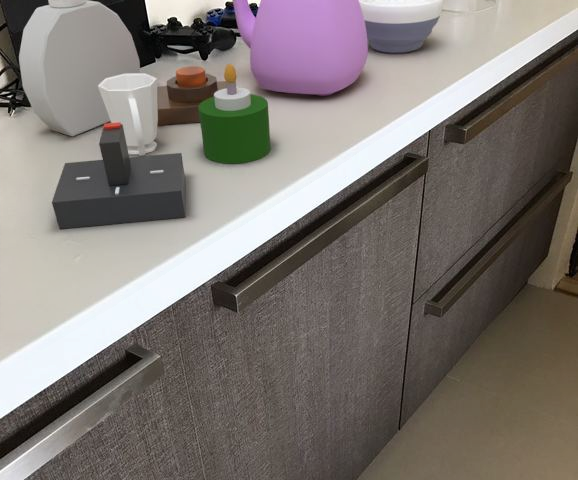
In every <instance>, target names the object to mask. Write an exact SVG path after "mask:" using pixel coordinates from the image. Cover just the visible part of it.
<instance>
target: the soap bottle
mask: <svg viewBox="0 0 578 480" xmlns="http://www.w3.org/2000/svg"><path fill="white" fill-rule="evenodd" d="M47 1H48V2H47V3H48V4H47V5H43V6H38V7H36V9H35V10H34V11H33V13H32V14H31V16H30V18H29V20H28V21H27V23H26V24H25V26H24V27H23V31H22V37H21V43H20V49H19V54H18V62H19V69H20V76H21V77H20V78H21V83H22V89H23V91H24V93H25V96H26V98H27V100H28V102H29V104H30V106H31V108H32V111H33V113H34V114H35V115H36V116H37V117H38V118H39V120H41V121H42V123H44V124H45V126H46V127H47V128H48V129H49V130H50V131H54V132H57V133H60V134H64V135H66V136H70V137H75V136H78V135H81V134H83V133H86V132H88V131H90V130H93V129H95V128H98V127H100V126H104V124H107V123H111V121H110V118H109V115H108V112H107V109H106V107H105V104H104V101H103V99H102V96H101V93H100V91H99V88H98V85H99V84H100V83H101V82H102V81H103V80H104V79H106V78H109V77H113V76H117V75H121V74H130V73H141V65H140V64H141V63H140V57H139V55H138V51H137V48H136V45H135V41H134V40H133V36H132V33H131V32H130V31H129V30H128V28H127V26H126V25H125V23H124V22H123V21H122V19H121V18H120V16H119V14H118V13H116V12H115V11H113V10H112V9H110V8H109V7H107V6H106V5H105V4H103V3H102V2H100V1H94V0H47Z"/></svg>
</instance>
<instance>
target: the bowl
mask: <svg viewBox="0 0 578 480" xmlns="http://www.w3.org/2000/svg"><path fill="white" fill-rule="evenodd" d="M359 3H360V6H361V9H362V13H363V17H364V21H365V26H366V33H367V40H369V45H370V48H371V49H374V51H377V52H379V53H380V52H381V53H386V54H406V53H411V52H415V51H416V50H419V49H421V48H422V46H423V45H424V43H425V40H426V39H427V38H428V37H429V36H430V35H431V34H432V32H433V28H434V27H435V26H436V25H437V23H438V22H439V19H440V17H441V15H442V12H443V6H444V0H359Z"/></svg>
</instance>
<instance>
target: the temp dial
mask: <svg viewBox="0 0 578 480" xmlns="http://www.w3.org/2000/svg"><path fill="white" fill-rule="evenodd" d="M102 126H103V127H102V131H101V134H100V137H99V143H98V145H99V150H100V154H101V158H102V160H103V163H104V167H105V171H106V176H107V180H108V184H109V186H113V185H124V184H128V180H129V174H130V167H131V163H130V158H129V157H130V154H128V149H127V144H126V139H125V134H124V129H123V125H122V124H121V123H120V122H119V123H111V122H108V123H106V124H103V125H102Z"/></svg>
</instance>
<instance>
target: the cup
mask: <svg viewBox="0 0 578 480" xmlns="http://www.w3.org/2000/svg"><path fill="white" fill-rule="evenodd" d="M157 87H158V78H157V77H154V76H152V75H151V74H148V73H141V72H140V73H130V74H121V75H117V76H113V77H109V78H106V79H104V80H103V81H102V82H101V83H100V84H99V85H98V88H99V91H100V93H101V96H102V99H103V101H104V104H105V107H106V109H107V112H108V115H109V118H110V121H111V122H110V123H119V122H120V123H121V124H122V125H123V129H124V134H125V139H126V144H127V149H128V154H129V155H138V157H140V156H146V154H148V153H151V152H154V151H155V150H156V148H157V147H158V143H157V142H156V141H154V140H155V139H156V138H157V136H158V135H157V133H158V126H157V123H158V108H157Z"/></svg>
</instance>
